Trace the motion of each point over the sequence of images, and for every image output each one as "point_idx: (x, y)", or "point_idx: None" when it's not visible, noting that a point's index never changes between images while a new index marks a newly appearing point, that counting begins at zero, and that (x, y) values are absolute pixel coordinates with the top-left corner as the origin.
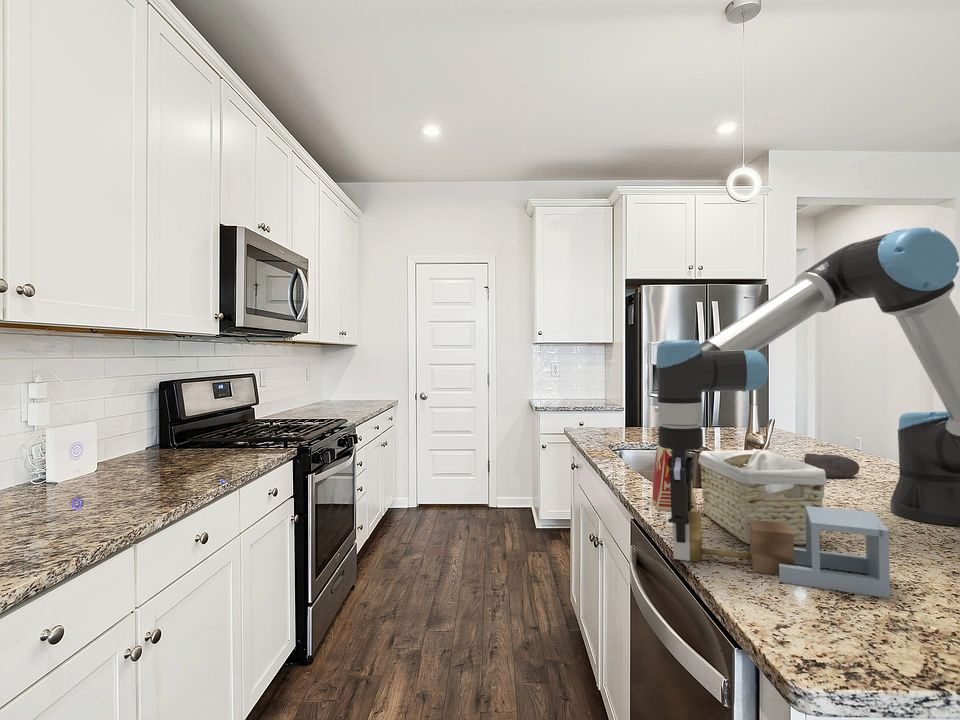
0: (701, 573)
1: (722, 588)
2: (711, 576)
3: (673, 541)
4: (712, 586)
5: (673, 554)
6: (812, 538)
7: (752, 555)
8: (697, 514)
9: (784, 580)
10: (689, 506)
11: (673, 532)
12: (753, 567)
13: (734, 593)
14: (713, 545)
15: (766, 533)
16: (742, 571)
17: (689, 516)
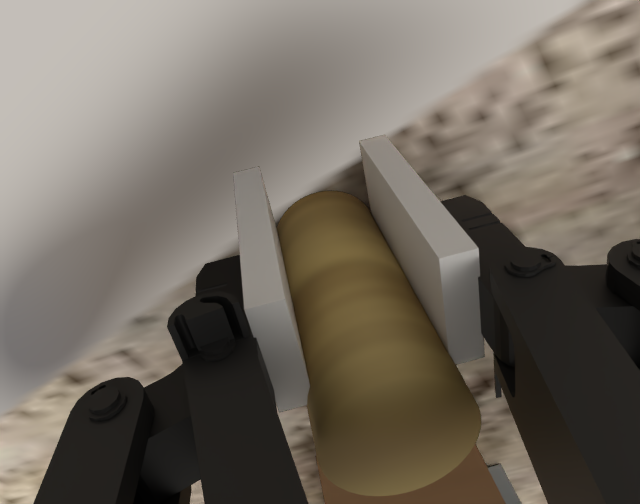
0: (150, 335)
1: (50, 441)
2: (148, 374)
3: (238, 224)
4: (35, 412)
5: (234, 183)
6: None
7: (353, 499)
8: (407, 472)
9: None
10: (517, 426)
11: (242, 260)
12: (319, 472)
13: (39, 480)
14: (584, 248)
15: None
16: (297, 430)
17: (316, 452)
